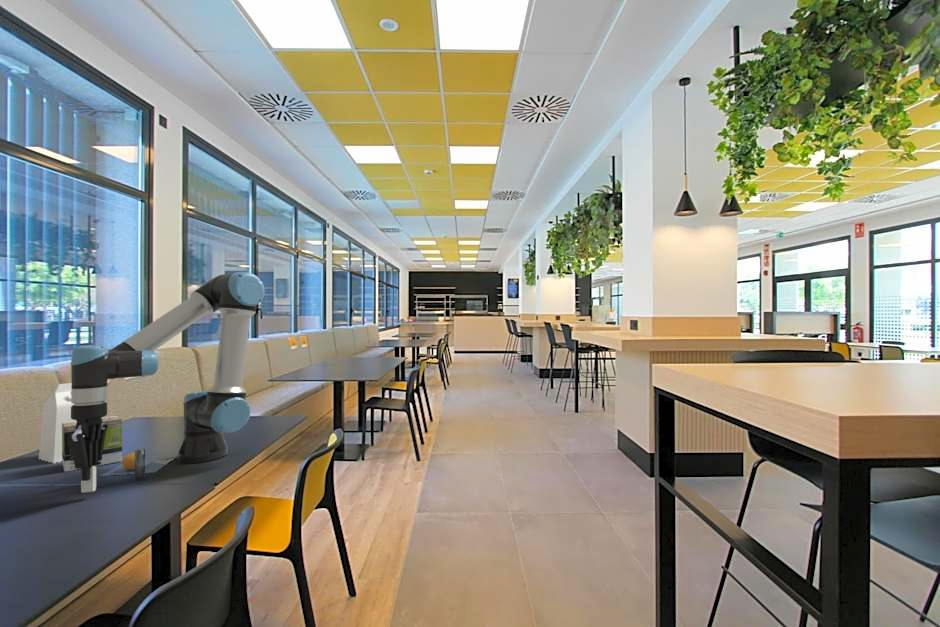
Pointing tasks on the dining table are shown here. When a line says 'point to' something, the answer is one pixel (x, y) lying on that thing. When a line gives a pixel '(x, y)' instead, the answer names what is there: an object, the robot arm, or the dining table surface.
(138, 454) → the inner post
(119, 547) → the dining table surface
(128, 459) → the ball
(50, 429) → the milk
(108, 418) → the tea box
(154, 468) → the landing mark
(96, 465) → the outer post
